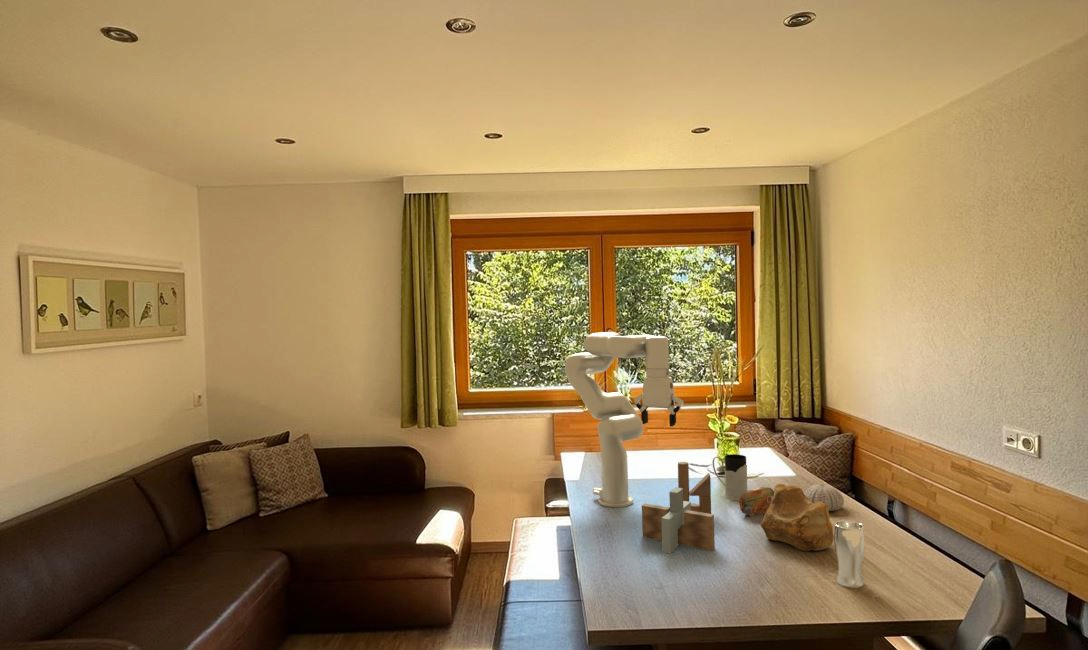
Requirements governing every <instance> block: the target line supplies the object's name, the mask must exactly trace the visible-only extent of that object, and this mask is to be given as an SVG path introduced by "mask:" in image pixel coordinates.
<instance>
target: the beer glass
mask: <svg viewBox="0 0 1088 650" xmlns="http://www.w3.org/2000/svg"><path fill="white" fill-rule="evenodd" d="M833 536H834V539H833V543H834V548H835V549H834V550H835V555H836V560H837V561H836V562H837V566H838V568H837V577H836V582H837V583H838V584H839V585H840V586H842V587H845V588H851V589H859V588H862V587H863V586H864V581H863V576H862V575H863V574H862V566H863V560H864V555H865V548H866V547H865V546H866V545H865V544H866V543H865V540H866V539H865V531H864V525H863V524H862V523H860V522H857V521H853V520H843V519H842V520H837V521H835V523H834V530H833Z"/></svg>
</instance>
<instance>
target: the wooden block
mask: <svg viewBox="0 0 1088 650" xmlns="http://www.w3.org/2000/svg"><path fill="white" fill-rule="evenodd" d="M689 471H690V468H689V462H687V461H679V462H678V463H677V482H678V484H677V486H678V487H677V488H683V501H687V502H690V497H694V496H695V497H698V503H699V504H698V503H694V502H691V511H696V512H702V513H709V514H712V493H711V491H712V485H711V474H710V473H709V472H707V474H706V475H705V476H703V478H702V479H700V481H698V483H697V484H696V485H694V486H693V488H691V490H690V474H689V473H690V472H689Z"/></svg>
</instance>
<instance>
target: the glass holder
mask: <svg viewBox="0 0 1088 650" xmlns="http://www.w3.org/2000/svg"><path fill="white" fill-rule="evenodd" d="M717 458H718V459H719V460H720V462H721V467H722V469H723V470H724V481H723V480H722V479H721V477H720V476H719V475H718V473H717V471H716V467H715V459H717ZM724 463H725V464H724ZM724 465H725V466H724ZM712 469H713V471H714V474H715V476H716V478H717V479H718V480H719V481H720V483H721V484H722V485H723V486H724V487H725V489H724V490H725V493H724V497H723V498H725V499H727V500H729V501H739V502H740V497H741V495H742V494H743V492H745V491H747V490H748V465H747V456H745V455H743V454H735V453H734V454H731V453H730V454H726V455H725V456H724V460H723V459H722V457H720V456H714V457H713V459H712Z"/></svg>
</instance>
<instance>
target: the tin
mask: <svg viewBox="0 0 1088 650" xmlns="http://www.w3.org/2000/svg"><path fill="white" fill-rule="evenodd" d="M773 496H774V490H773V489H772V488H771V487H766V486H760V487H756V488H752V489H747V491H745V492H743V494H742V495H741V497H740V501H739V509H740V511H741V512H742V513H743V514H744V515H747V516H749V517H755V516H759V515H763V514H765V513H766V511H767V509H768V508H769V506H770V503H771V501H772V499H773Z"/></svg>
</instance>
